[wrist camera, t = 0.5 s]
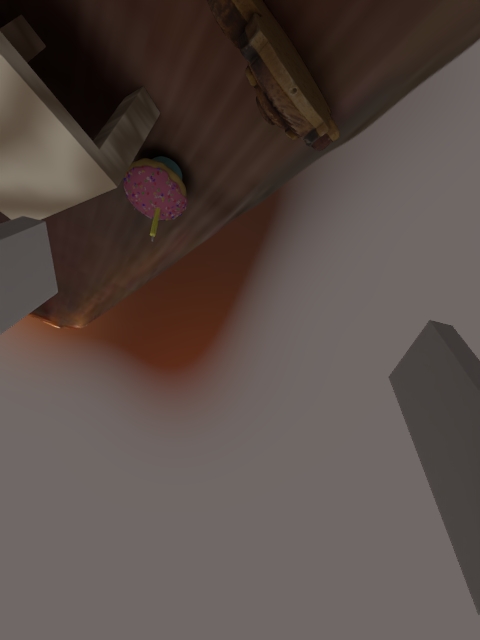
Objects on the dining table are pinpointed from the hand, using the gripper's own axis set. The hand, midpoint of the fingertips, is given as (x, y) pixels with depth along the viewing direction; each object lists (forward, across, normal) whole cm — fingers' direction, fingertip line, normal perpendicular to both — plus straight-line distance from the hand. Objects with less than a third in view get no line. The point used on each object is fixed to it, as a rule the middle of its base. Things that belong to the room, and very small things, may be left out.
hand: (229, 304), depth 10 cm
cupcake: (+36, -15, -4) cm, 40 cm away
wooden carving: (+30, -2, +11) cm, 32 cm away
